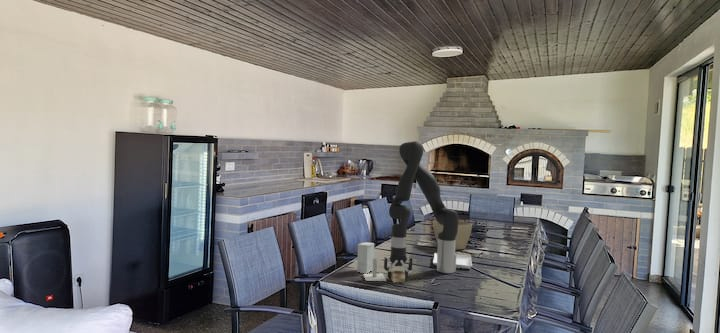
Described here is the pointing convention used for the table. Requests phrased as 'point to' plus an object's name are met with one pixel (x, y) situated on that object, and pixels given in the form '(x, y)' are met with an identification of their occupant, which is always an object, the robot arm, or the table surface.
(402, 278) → the ring
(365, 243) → the skincare box
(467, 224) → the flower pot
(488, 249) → the table surface
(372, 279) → the post
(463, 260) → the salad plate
